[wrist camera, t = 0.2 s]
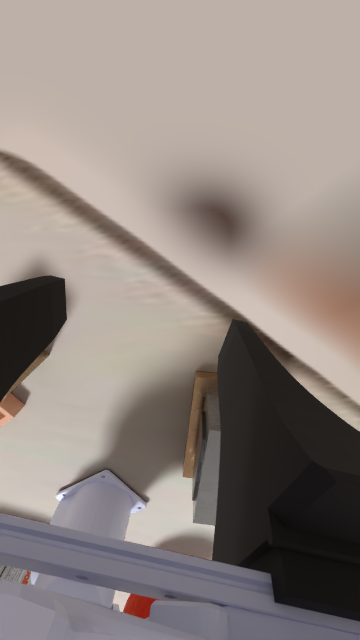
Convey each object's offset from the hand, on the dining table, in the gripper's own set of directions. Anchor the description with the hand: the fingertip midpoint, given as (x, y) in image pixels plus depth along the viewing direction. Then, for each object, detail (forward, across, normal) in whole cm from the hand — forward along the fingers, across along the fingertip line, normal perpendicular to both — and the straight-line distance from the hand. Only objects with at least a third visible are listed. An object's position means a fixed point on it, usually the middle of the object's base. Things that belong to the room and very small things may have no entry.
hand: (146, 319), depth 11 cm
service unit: (+8, -9, +17) cm, 21 cm away
